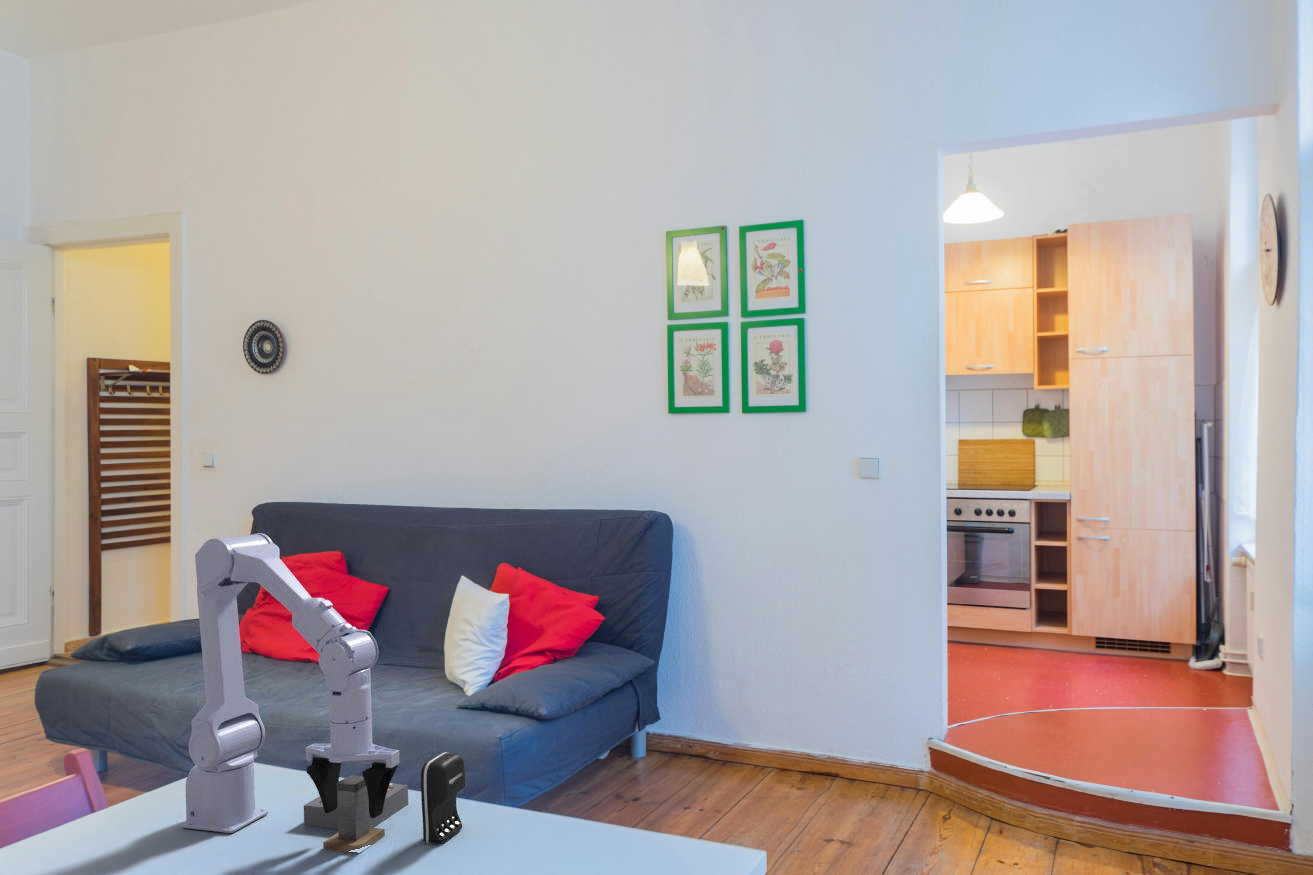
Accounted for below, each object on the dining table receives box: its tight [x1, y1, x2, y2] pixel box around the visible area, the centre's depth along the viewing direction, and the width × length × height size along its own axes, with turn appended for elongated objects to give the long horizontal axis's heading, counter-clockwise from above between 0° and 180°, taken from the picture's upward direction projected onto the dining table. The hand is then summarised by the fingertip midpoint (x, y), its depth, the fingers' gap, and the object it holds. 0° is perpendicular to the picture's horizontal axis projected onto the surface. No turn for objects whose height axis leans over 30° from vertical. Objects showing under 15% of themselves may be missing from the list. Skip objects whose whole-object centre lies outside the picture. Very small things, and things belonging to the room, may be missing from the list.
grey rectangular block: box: [336, 775, 369, 841], centre depth 131 cm, size 3×3×8 cm
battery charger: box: [420, 751, 466, 845], centre depth 132 cm, size 7×4×11 cm, turn 161°
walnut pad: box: [322, 827, 386, 853], centre depth 131 cm, size 6×6×1 cm
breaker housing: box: [303, 782, 409, 830], centre depth 142 cm, size 11×11×3 cm
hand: (353, 812), depth 131 cm, fingers open, 7 cm apart
